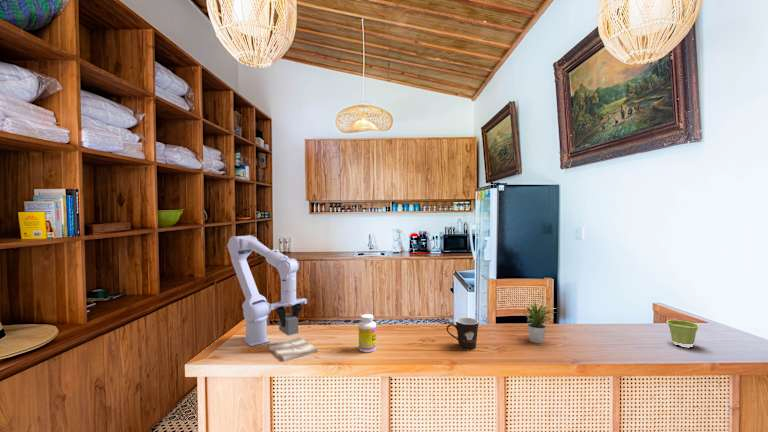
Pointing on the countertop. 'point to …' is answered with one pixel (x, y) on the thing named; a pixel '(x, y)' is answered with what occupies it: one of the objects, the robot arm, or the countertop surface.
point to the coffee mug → (466, 332)
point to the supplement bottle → (367, 333)
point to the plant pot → (682, 331)
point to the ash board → (292, 348)
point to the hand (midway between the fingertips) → (288, 325)
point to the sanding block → (289, 325)
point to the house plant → (537, 322)
